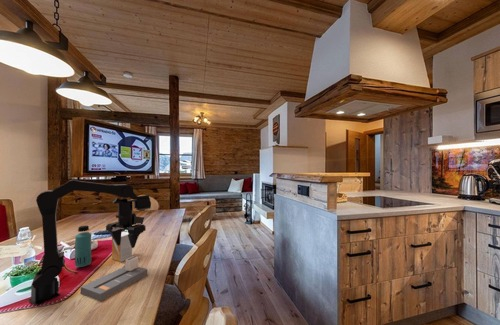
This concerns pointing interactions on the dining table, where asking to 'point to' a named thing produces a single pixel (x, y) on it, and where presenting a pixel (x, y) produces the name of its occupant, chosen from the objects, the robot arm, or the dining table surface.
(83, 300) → the dining table surface
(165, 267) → the dining table surface
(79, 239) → the beverage bottle
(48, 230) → the robot arm
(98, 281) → the console
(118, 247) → the small box
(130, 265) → the fader knob
